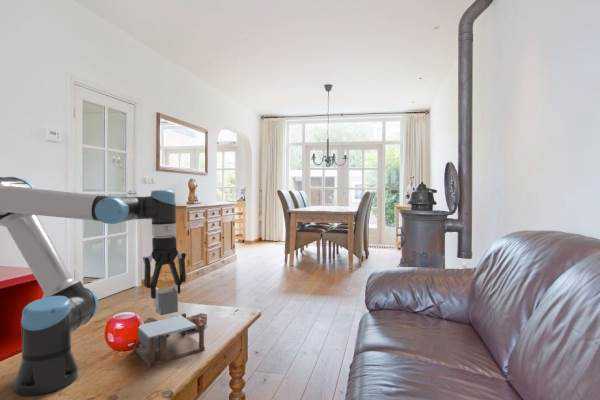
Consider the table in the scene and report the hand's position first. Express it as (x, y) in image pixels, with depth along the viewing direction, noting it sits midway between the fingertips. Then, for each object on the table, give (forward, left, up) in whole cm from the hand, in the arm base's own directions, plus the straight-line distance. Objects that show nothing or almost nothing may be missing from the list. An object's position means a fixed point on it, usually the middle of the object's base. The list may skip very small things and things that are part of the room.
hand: (166, 305), depth 120 cm
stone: (+5, +21, -18) cm, 28 cm away
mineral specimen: (+18, +18, -18) cm, 31 cm away
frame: (+3, +5, -18) cm, 18 cm away
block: (0, -1, -2) cm, 2 cm away
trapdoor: (+2, +5, -13) cm, 14 cm away
